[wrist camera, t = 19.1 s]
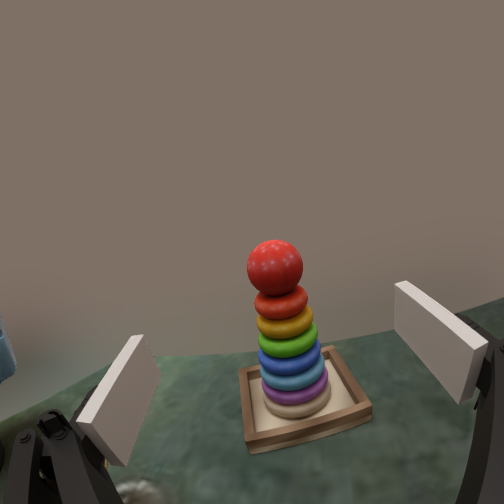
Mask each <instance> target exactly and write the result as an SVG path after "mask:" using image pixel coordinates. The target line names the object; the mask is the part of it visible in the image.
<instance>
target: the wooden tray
mask: <svg viewBox="0 0 504 504" xmlns="http://www.w3.org/2000/svg"><path fill="white" fill-rule="evenodd" d="M321 354H322V355H323V357H324V360H325V366H326V368H327V371H328V379H329V381H330V384H331V393H330V396H329V398H328V400H327V402H326V403H325V404H324V405H323V406H322V407H321V408H320V409H319V410H317V411H316V412H314V413H312V414H310V415H307V416H303V417H298V418H288V417H282V416H279V415H276V414H274V413H273V412H271V411H270V410H269V409H268V408H267V407H266V405H265V404H264V401H263V389H262V385H261V380H262V377H261V375H260V365H261V364H260V365H256V366H251V367H247V368H242V369H239V379H240V391H241V403H242V414H243V426H244V436H245V443H246V445H247V447H248V450H249V452H250V454H251V455H252V454H257V453H262V452H267V451H272V450H277V449H281V448H285V447H290V446H294V445H298V444H301V443H305V442H309V441H312V440H316V439H319V438H322V437H326V436H329V435H332V434H335V433H338V432H341V431H344V430H347V429H350V428H352V427H355V426H358V425H360V424H363V423H366V422H368V421H371V420H372V404H371V402H370V401H369V399H368V398H367V396H366V395H365V393H364V392H363V390H362V389H361V387H360V386H359V384H358V382H357V381H356V379H355V378H354V376H353V375H352V373H351V372H350V370H349V369H348V367H347V366H346V364H345V363H344V361H343V360H342V358H341V357H340V355H339V354H338V352H337V351H336V349H335V348H334V346H333V345H330V346H327V347H324V348H321Z"/></svg>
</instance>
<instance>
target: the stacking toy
mask: <svg viewBox="0 0 504 504" xmlns="http://www.w3.org/2000/svg"><path fill="white" fill-rule="evenodd" d="M302 272H303V262H302V259H301V256H300V254H299V252H298V251H297V250H296V248H295V247H294V246H292V245H291V244H289V243H287V242H285V241H281V240H269V241H266V242H263V243H261V244H259V245H258V246H257V247H256V248H255V249H254V250H253V251H252V252H251V254H250V256H249V258H248V262H247V273H248V277H249V279H250V281H251V283H252V284H253V286H254V287H255V288H256V289H257V290H259V291H260V293H259V294H258V295H257V296H256V298H255V302H254V304H255V308H256V311H257V312H258V313H259V315H258V317H257V327H258V329H259V331H260V333H259V337H258V342H259V345H260V350H259V355H258V357H259V361H260V364H261V365H260V375H261V377H262V380H261V385H262V389H263V401H264V404H265V405H266V407H267V408H268V409H269V410H270V411H271V412H273V413H274V414H276V415H279V416H282V417H288V418H298V417H303V416H307V415H310V414H312V413H314V412H316V411H317V410H319V409H320V408H321V407H322V406H323V405H324V404H325V403H326V402H327V400H328V398H329V396H330V393H331V384H330V381H329V379H328V371H327V368H326V366H325V360H324V357H323V355H322V354H321V345H320V342H319V340H318V339H317V335H318V333H317V328H316V326H315V324H314V323H313V322H312V321H313V313H312V310H311V309H310V307H309V306H308V305H306V304H307V301H308V296H307V293H306V291H305V290H304V289H303V288H302V287H300V286H298V285H297V284H298V283H299V281H300V279H301V276H302Z"/></svg>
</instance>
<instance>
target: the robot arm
mask: <svg viewBox="0 0 504 504" xmlns="http://www.w3.org/2000/svg"><path fill="white" fill-rule="evenodd" d="M394 305H395V306H394V310H395V311H394V330H395V331H396V332H397V333H398V334H399V335H400V337H401V338H402V339H403V340H404V341H405V342H406V343H407V344H408V346H409V347H410V348H411V349H412V350H413V351H414V352H415V353H416V355H417V356H418V357H419V358H420V359H421V360H422V362H423V363H424V364H425V365H426V366H427V367H428V369H429V370H430V371H431V372H432V373H433V374H434V376H435V377H436V378H437V379H438V380H439V382H440V383H441V384H442V385H443V386H444V388H445V389H446V390H447V391H448V393H449V394H450V395H451V396H452V397H453V399H454V400H455V401H456V402H457V404H458V405H459V404H461V403H462V402H464V401H466V400H468V399H469V398H471V397H472V396H473V393H474V390H475V387H476V386H477V387H478V389H479V390H480V394H479V397H478V399H477V402H476V404H475V407H474V410H476V408H477V414H476V422H475V428H474V434H473V440H472V445H471V450H470V454H469V459H468V463H467V467H466V471H465V474H464V478H463V482H462V485H461V488H460V491H459V495H458V498H457V500H456V503H455V504H504V339H501V340H498V339H496V338H495V337H494V336H492V335H491V334H490V333H489V332H487V331H486V330H485V329H483V328H482V327H480V326H479V325H478V324H477V323H474V321H473V320H471V319H470V318H468V317H467V316H464V315H461V314H459V313H457V314H452V313H451V312H449V311H448V310H447V309H445V308H444V307H443V306H441V305H440V304H439V303H437V302H436V301H434V300H433V299H432V298H430V297H429V296H428V295H426V294H425V293H423V292H422V291H421V290H419V289H418V288H416V287H415V286H413V285H412V284H411V283H409V282H408V281H403V282H399V283H396V284H394ZM16 368H17V364H16V359H15V356H14V353H13V350H12V346H11V343H10V341H9V337H8V334H7V331H6V328H5V325H4V322H3V318H2V315H1V312H0V384H1V383H2V382H3V381H4V380H6V379H8V378H9V377H11V376H12V375H14V374H15V372H16ZM161 376H162V375H161V373H160V371H159V369H158V366H157V364H156V362H155V360H154V357H153V355H152V353H151V350H150V348H149V346H148V343H147V341H146V338H145V336H144V335H136V336H131V338H130V339H129V340H128V342H127V343H126V345H125V346H124V348H123V349H122V351H121V352H120V354H119V355H118V357H117V358H116V360H115V361H114V362H113V364H112V365H111V367H110V368H109V370H108V371H107V373H106V375H105V376H104V378H103V379H102V381H101V382H100V384H99V385H96V386H95V387H94V388H93V389H91V390H90V391H89V392H88V394H87V395H86V397H85V398H84V400H83V401H82V403H81V406H79V408H78V409H77V411H76V412H75V414H74V415H73V417H72V419H71V420H70V422H68V421H67V420H66V418H65V417H64V416H63V414H62V413H61V411H59V410H57V409H52V410H48V411H46V412H44V413H43V414H42V415H41V416H40V417H39V418H38V420H37V426H38V427H39V428H40V430H41V431H42V432H43V433H44V435H45V436H39V435H38V434H37V433H36V432H35V430H34V429H32V428H26V429H23V430H21V431H20V432H19V433H18V434H17V436H16V438H15V441H14V445H13V449H12V454H11V459H10V464H9V469H8V475H7V481H6V488H5V496H4V504H124V503H123V501H122V500H121V498H120V496H119V494H118V492H117V490H116V488H115V486H114V484H113V482H112V480H111V478H110V476H109V474H108V472H107V470H106V468H105V466H104V465H103V464H102V461H103V458H104V457H105V459H106V460H107V461H108V462H109V463H110V464H111V465H114V466H121V467H127V464H128V461H129V458H130V456H131V453H132V450H133V448H134V445H135V442H136V439H137V437H138V434H139V432H140V429H141V426H142V424H143V421H144V419H145V416H146V413H147V411H148V408H149V406H150V403H151V401H152V398H153V396H154V393H155V391H156V388H157V386H158V383H159V381H160V378H161ZM3 458H4V450H3V446H2V444H1V442H0V468H1V466H2V463H3ZM39 471H40V472H41V473H42V474H43V477H42V478H41V477H40V476H39Z"/></svg>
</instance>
